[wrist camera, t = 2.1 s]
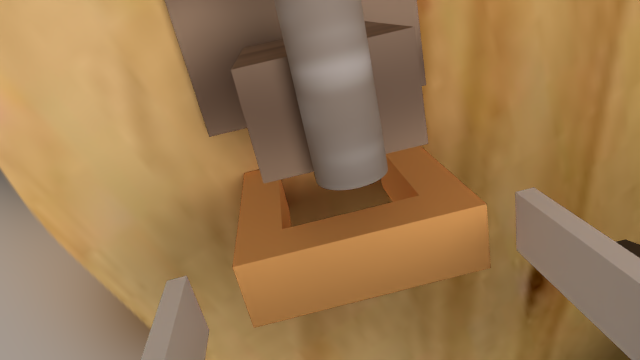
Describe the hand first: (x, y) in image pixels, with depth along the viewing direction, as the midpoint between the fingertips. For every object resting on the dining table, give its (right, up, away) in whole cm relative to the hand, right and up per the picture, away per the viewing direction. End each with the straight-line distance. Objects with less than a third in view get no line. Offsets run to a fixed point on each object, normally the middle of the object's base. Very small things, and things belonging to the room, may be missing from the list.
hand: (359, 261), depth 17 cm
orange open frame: (-1, +3, +9) cm, 10 cm away
